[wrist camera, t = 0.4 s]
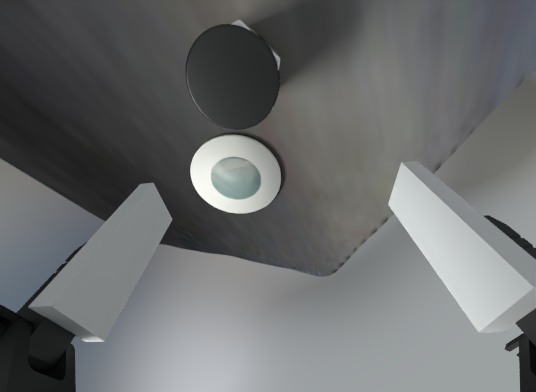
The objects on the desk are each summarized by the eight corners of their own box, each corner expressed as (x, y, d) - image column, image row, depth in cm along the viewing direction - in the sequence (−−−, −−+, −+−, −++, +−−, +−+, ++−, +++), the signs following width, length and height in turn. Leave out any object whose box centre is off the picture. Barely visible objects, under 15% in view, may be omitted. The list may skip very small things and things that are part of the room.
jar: (272, 108, 31) (271, 140, 21) (216, 100, 30) (189, 128, 20) (282, 31, 25) (289, 26, 16) (215, 20, 25) (178, 7, 15)
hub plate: (180, 190, 40) (179, 192, 39) (210, 115, 31) (209, 116, 31) (255, 221, 44) (254, 223, 44) (298, 163, 36) (298, 165, 35)
